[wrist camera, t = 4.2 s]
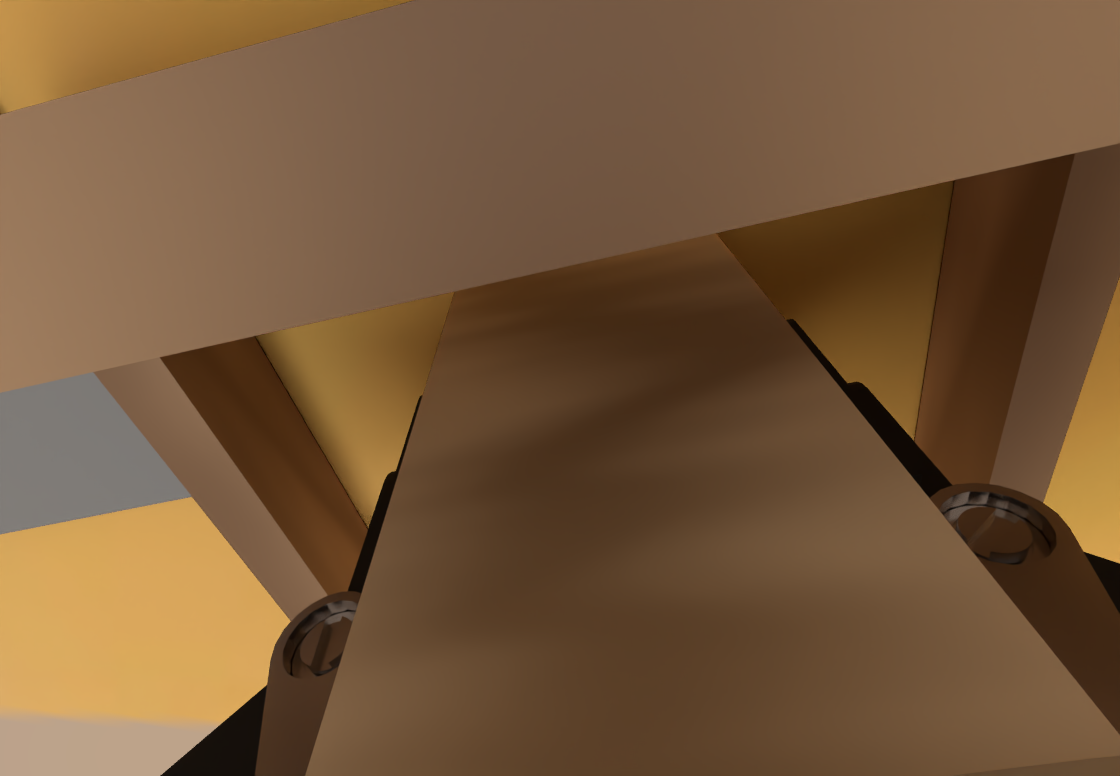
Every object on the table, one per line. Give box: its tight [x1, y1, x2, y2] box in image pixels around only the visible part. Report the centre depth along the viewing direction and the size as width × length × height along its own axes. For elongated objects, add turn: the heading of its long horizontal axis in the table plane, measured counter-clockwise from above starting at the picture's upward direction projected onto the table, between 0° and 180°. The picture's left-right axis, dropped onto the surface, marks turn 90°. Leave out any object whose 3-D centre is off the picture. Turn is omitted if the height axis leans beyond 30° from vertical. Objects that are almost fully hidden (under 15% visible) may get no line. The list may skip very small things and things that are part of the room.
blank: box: [305, 233, 1120, 776], centre depth 8 cm, size 5×5×10 cm
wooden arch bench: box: [0, 0, 1120, 621], centre depth 9 cm, size 16×13×8 cm
